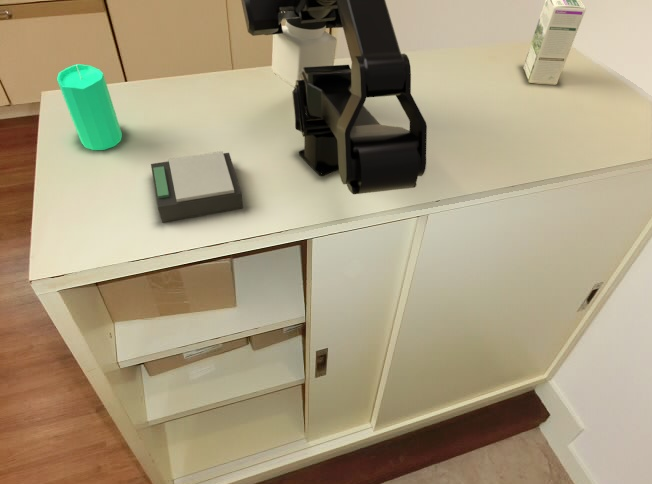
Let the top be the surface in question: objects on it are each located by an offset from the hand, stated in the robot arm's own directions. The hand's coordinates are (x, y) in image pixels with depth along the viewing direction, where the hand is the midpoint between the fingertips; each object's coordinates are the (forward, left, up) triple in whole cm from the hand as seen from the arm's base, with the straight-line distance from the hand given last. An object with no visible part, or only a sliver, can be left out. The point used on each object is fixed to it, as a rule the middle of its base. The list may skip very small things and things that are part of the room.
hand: (299, 27), depth 81 cm
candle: (-31, +7, -14) cm, 35 cm away
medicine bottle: (-1, -2, -7) cm, 8 cm away
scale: (-24, -12, -13) cm, 30 cm away
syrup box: (+46, -15, -14) cm, 50 cm away
